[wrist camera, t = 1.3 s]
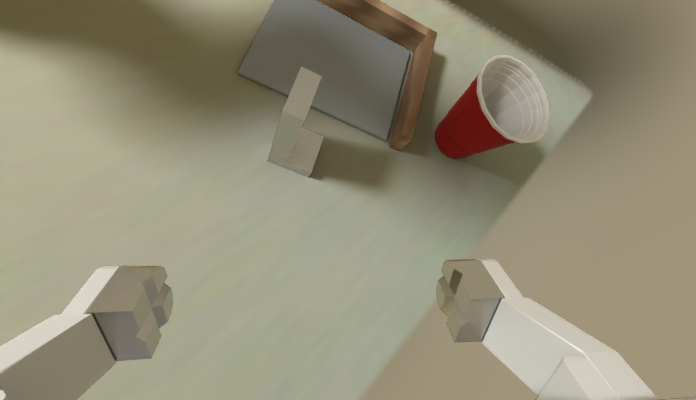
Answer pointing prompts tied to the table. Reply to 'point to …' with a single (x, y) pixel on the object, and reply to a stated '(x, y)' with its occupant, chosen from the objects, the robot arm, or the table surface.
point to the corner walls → (368, 10)
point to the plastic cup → (496, 110)
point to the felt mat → (329, 63)
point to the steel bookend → (297, 128)
